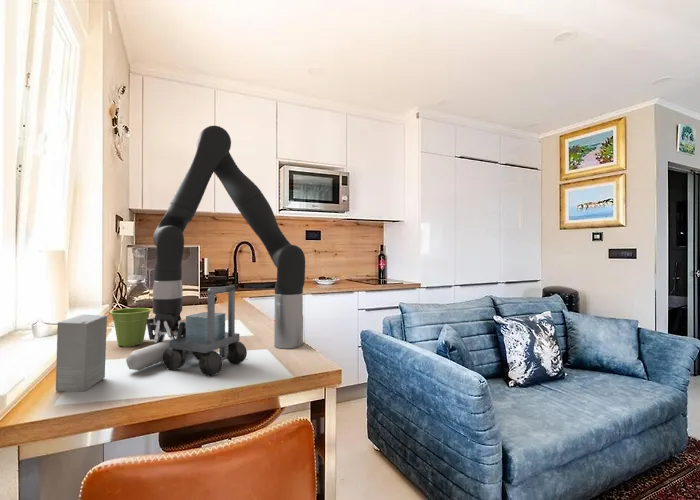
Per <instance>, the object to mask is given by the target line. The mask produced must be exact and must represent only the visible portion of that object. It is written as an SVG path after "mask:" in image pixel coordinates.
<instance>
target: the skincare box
mask: <svg viewBox="0 0 700 500" xmlns="http://www.w3.org/2000/svg"><path fill="white" fill-rule="evenodd" d="M107 321H108V316H107V315H106V314H104V315H99V314H98V315H97V314H96V315H95V314H79V315H76V316H73V317H71V318H68V319H64V320H61V321H58V322H57V330H56V331H57V336H56V338H57V339H56V363H55V365H56V367H55V368H56V371H55V392H85V391H86V390H88V389H90V388H91V387H93V386H95V384H97V383H98V382H101V380H103V379H105V377H106V356H107V355H106V351H107V330H108V329H107V327H108V326H107V325H108V324H107V323H108V322H107Z"/></svg>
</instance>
